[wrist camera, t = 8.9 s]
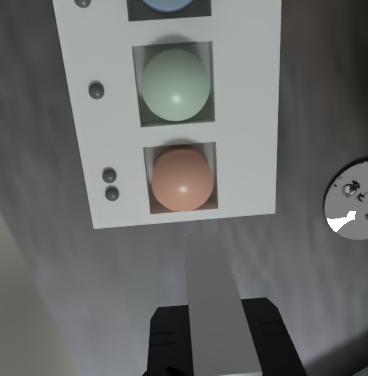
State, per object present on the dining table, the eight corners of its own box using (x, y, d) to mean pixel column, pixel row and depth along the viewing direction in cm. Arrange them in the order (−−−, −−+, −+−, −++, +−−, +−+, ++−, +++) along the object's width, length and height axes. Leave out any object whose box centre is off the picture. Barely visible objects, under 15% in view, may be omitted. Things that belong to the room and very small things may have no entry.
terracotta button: (150, 146, 25) (148, 155, 23) (207, 141, 26) (212, 150, 23) (155, 199, 27) (154, 214, 24) (209, 195, 27) (214, 209, 24)
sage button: (140, 53, 23) (137, 51, 21) (203, 48, 23) (208, 46, 21) (146, 117, 25) (144, 123, 22) (206, 112, 25) (211, 118, 22)
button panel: (52, -72, 21) (34, -95, 18) (268, -85, 22) (285, -109, 19) (100, 212, 28) (93, 229, 25) (264, 198, 29) (275, 214, 26)
